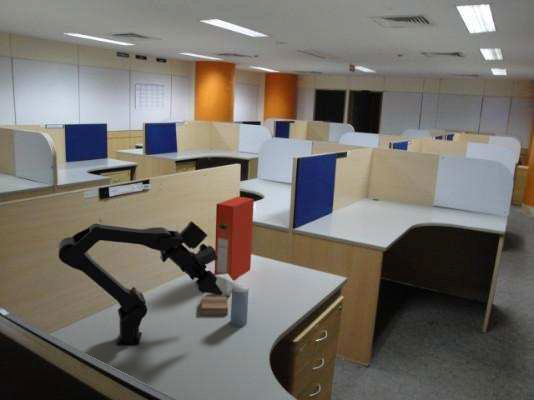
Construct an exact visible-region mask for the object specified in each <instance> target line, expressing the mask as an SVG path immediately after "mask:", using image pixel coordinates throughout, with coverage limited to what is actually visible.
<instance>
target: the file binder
mask: <svg viewBox="0 0 534 400" xmlns="http://www.w3.org/2000/svg"><path fill="white" fill-rule="evenodd" d="M254 201H255V199H254V198H249V197H244V196H243V197H242V196H236V197H232V198H230V199H227V200H224V201H221V202H218V203H216V206H215V207H216V210H215V215H216V216H215V245H214V246H215V247H214V249H215V252H216V254H217V256H218V259H217V260H214V275H221V274H229V276H230V277H231V279H232V280H233V281H234V280H235V281H236V280H237V278H239V277H240V276H242V275H244V274H245V273H247V272H248V271H250V270H251V266H252V265H251V264H252V263H251V262H252V243H253V227H254V225H253V224H254V222H253V221H254V203H255V202H254Z"/></svg>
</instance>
